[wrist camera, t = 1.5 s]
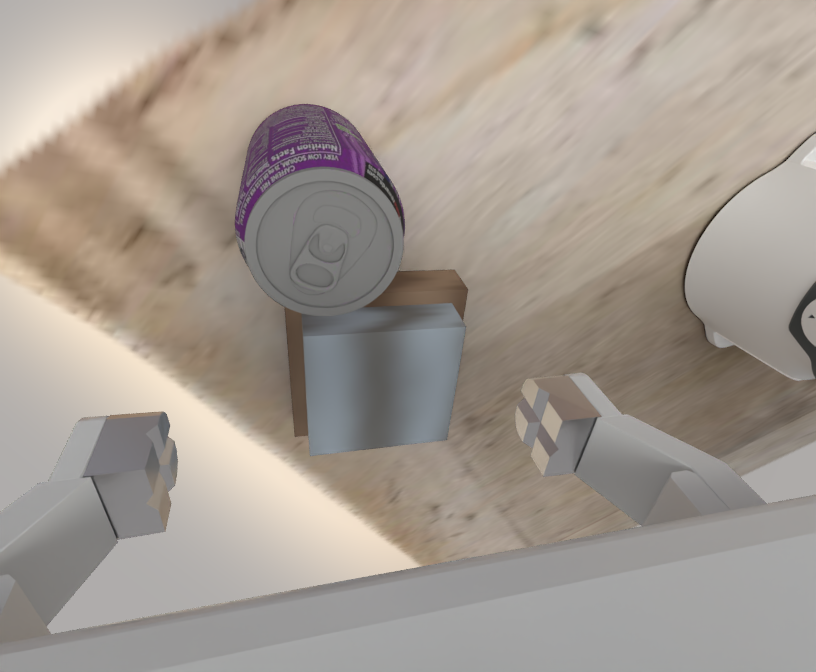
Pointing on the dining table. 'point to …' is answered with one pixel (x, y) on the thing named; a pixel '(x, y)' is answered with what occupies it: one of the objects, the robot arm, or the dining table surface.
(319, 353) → the stepped plinth
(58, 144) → the dining table surface
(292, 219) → the beverage can
